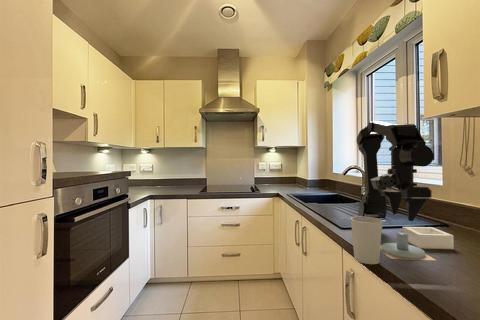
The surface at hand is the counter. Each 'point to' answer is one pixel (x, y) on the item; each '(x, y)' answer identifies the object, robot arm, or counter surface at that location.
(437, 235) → the dish
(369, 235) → the cup
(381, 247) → the mat
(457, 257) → the counter surface
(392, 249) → the lid
